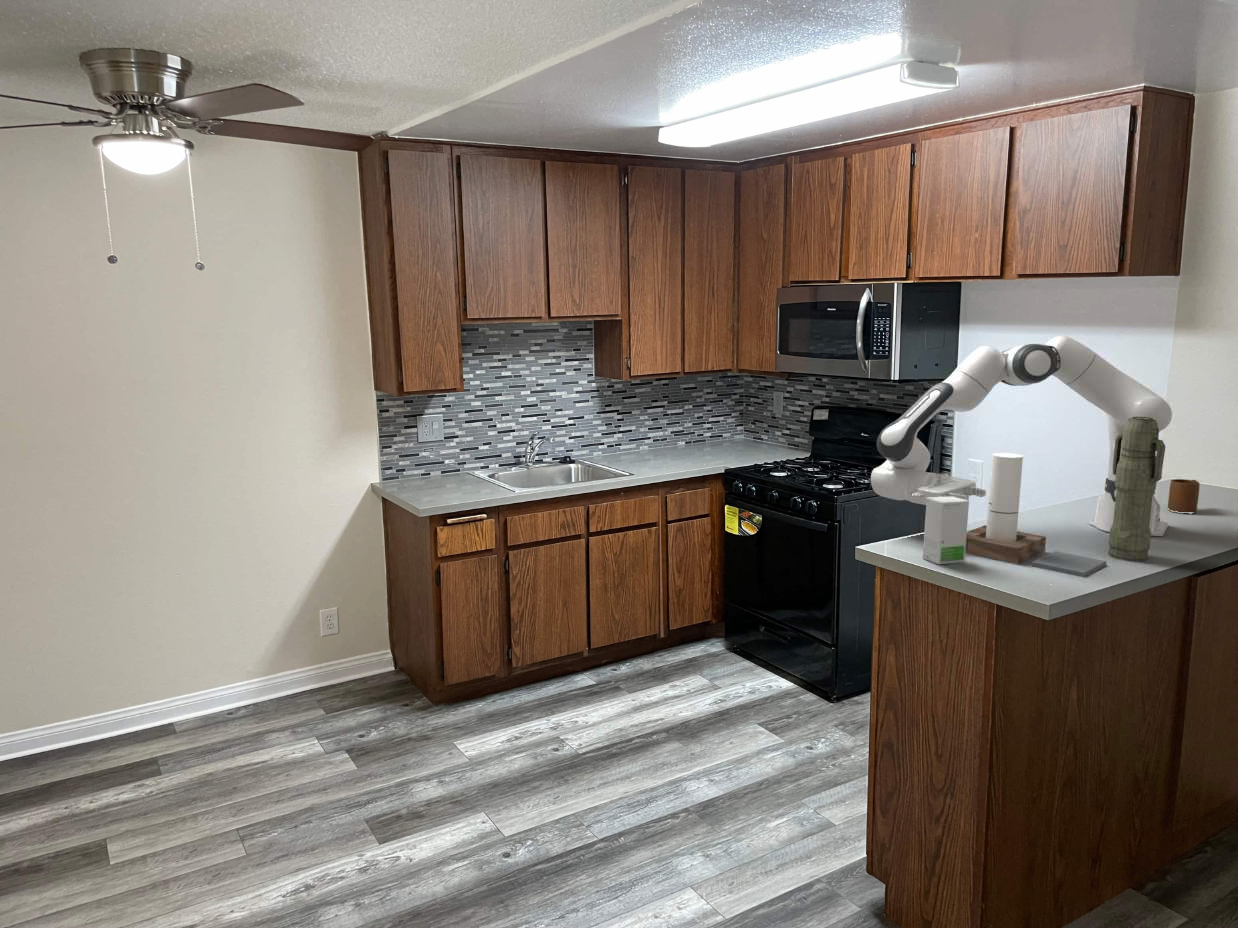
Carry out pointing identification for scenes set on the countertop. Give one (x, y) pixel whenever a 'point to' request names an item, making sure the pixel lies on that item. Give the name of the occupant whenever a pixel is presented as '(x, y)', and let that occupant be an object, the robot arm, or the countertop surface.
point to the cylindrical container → (1004, 497)
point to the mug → (1183, 495)
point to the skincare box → (945, 529)
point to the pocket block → (1004, 546)
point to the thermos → (1135, 487)
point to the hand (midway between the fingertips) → (976, 496)
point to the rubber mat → (1069, 563)
